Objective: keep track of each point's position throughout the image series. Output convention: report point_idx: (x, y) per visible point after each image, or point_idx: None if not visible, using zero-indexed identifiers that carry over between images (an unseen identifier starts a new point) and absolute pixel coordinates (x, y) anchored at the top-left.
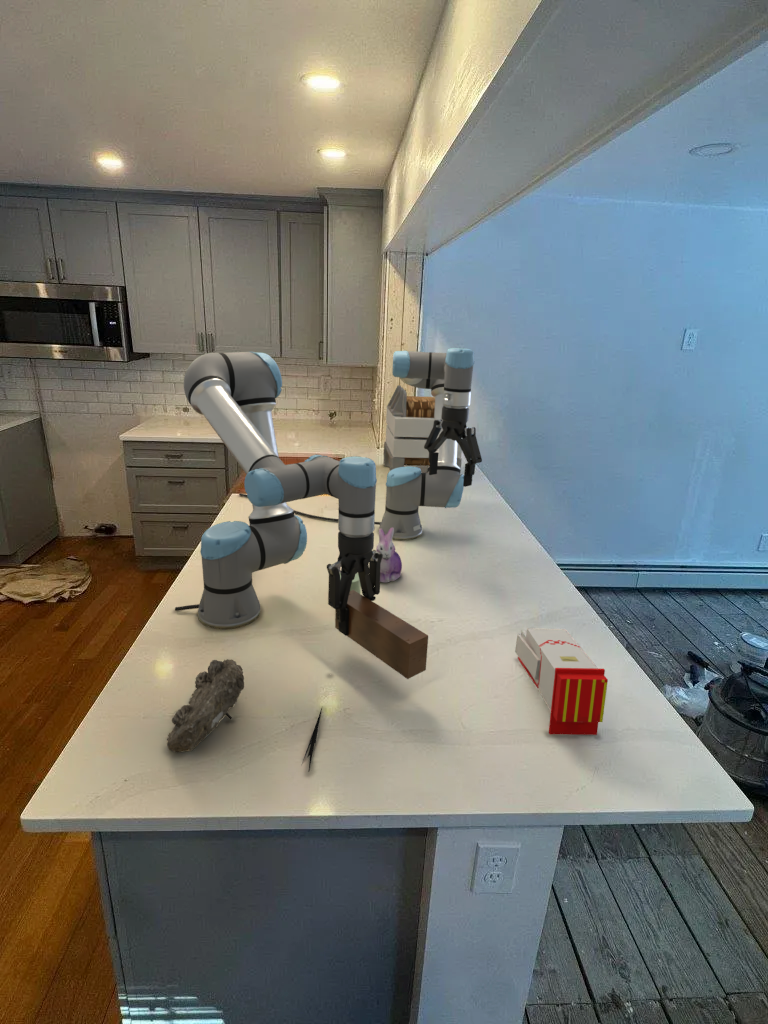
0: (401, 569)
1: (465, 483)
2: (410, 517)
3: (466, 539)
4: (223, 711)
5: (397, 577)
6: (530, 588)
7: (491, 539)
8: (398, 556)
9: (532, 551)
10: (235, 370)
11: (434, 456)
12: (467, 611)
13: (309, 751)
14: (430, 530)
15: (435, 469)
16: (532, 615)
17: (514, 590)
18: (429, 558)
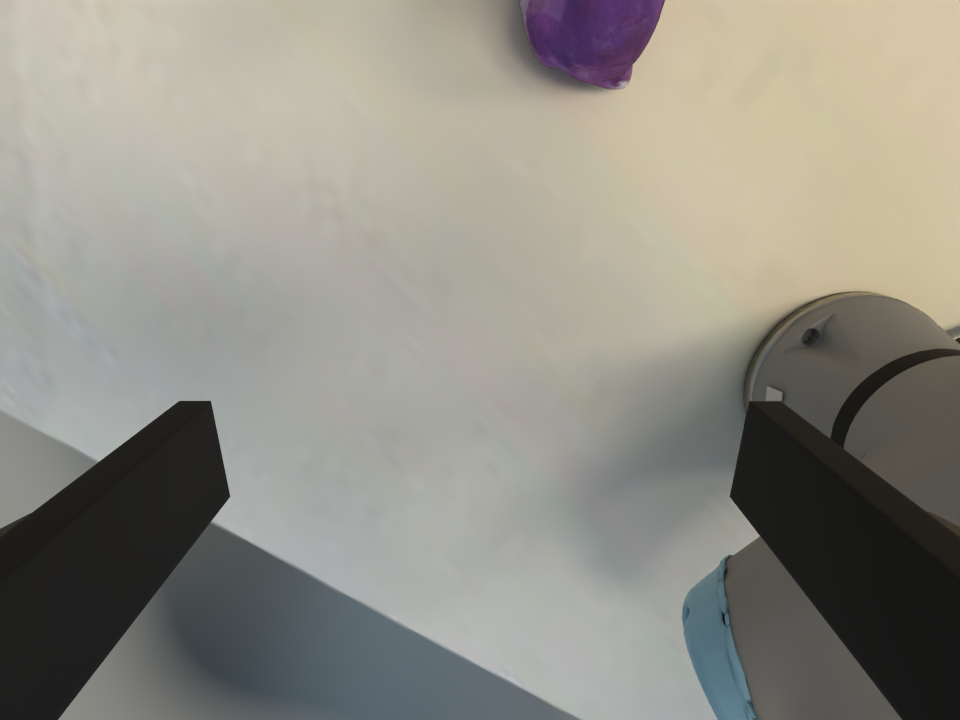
0: (535, 51)
1: (158, 421)
2: (827, 406)
3: (605, 523)
4: None
5: (525, 23)
6: None
7: (548, 584)
8: (568, 36)
9: (400, 609)
10: None
11: (928, 631)
12: (162, 71)
13: None
14: None
15: (765, 505)
16: (45, 253)
17: (214, 348)
18: (581, 295)
